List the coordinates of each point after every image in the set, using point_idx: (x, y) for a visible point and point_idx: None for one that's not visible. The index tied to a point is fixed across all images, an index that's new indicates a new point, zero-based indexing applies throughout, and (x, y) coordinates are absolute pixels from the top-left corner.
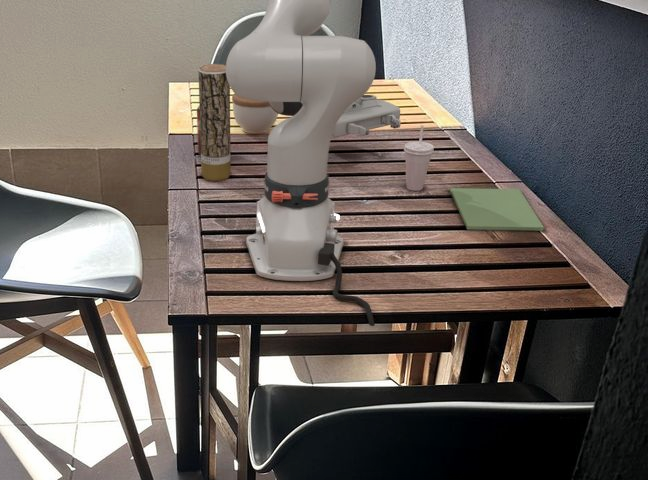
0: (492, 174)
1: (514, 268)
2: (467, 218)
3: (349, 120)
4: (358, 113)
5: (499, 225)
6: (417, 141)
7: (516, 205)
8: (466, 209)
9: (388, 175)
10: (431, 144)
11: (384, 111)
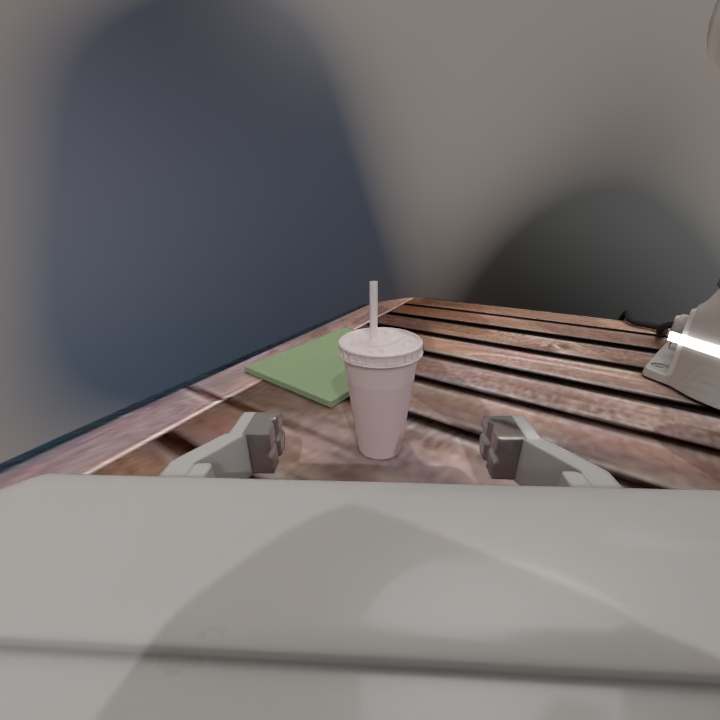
0: (171, 418)
1: (438, 318)
2: None
3: (621, 489)
4: (447, 582)
5: None
6: (356, 350)
7: (311, 349)
8: None
9: None
10: (343, 335)
11: (189, 483)
